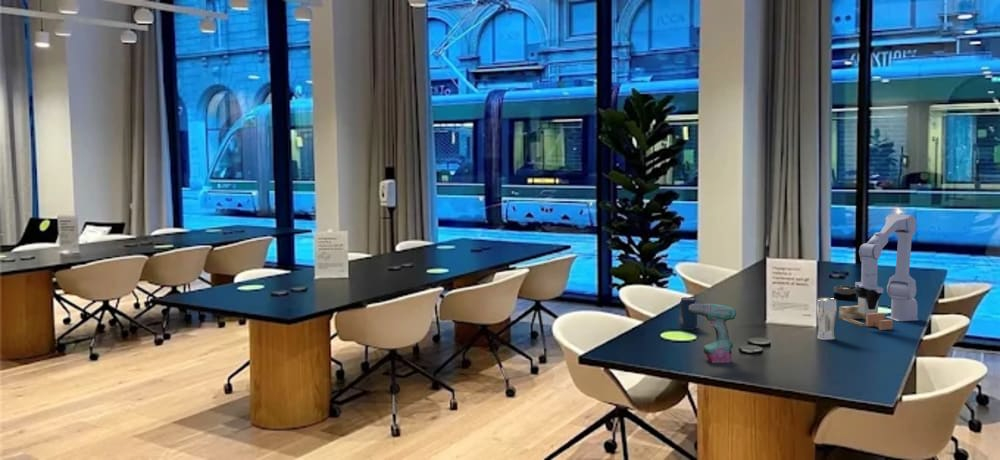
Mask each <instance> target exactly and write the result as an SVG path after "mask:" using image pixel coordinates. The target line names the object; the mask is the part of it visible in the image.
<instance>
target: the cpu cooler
mask: <svg viewBox="0 0 1000 460" xmlns="http://www.w3.org/2000/svg"><path fill="white" fill-rule="evenodd" d="M856 289H858V287H855V286H852V285H835V286H833V299H836V300H840V301H852V302H853V301H856V299H857V295H858V293H857V291H856Z"/></svg>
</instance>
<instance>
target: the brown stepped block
mask: <svg viewBox="0 0 1000 460" xmlns="http://www.w3.org/2000/svg"><path fill="white" fill-rule="evenodd" d="M865 316H866V319H865V327H875V328H878V330H880V331H886V330H893V329H894V327H893V326H894V325H893V324H894V320H892V319H886V313H885V312H878V313H871V314H865Z"/></svg>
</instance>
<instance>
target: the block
mask: <svg viewBox="0 0 1000 460" xmlns="http://www.w3.org/2000/svg"><path fill="white" fill-rule="evenodd" d="M857 306H858V312H859V313H863V314H865V315H866V314H871V313H879V300H878V301H877V304H876V307H875V309H869V302H868V296H867V297H859V296H858V297H857Z"/></svg>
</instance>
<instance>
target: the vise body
mask: <svg viewBox="0 0 1000 460" xmlns="http://www.w3.org/2000/svg"><path fill="white" fill-rule="evenodd" d="M838 319H839V320H842V321H846V322H848V323H851V324H854V325H857V326H859V327H866V323H865V322H861V321H858V320H859V319H863V320H866V314H863V313H859V312H858V305H845V306H839V307H838ZM856 319H857V320H856Z"/></svg>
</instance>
